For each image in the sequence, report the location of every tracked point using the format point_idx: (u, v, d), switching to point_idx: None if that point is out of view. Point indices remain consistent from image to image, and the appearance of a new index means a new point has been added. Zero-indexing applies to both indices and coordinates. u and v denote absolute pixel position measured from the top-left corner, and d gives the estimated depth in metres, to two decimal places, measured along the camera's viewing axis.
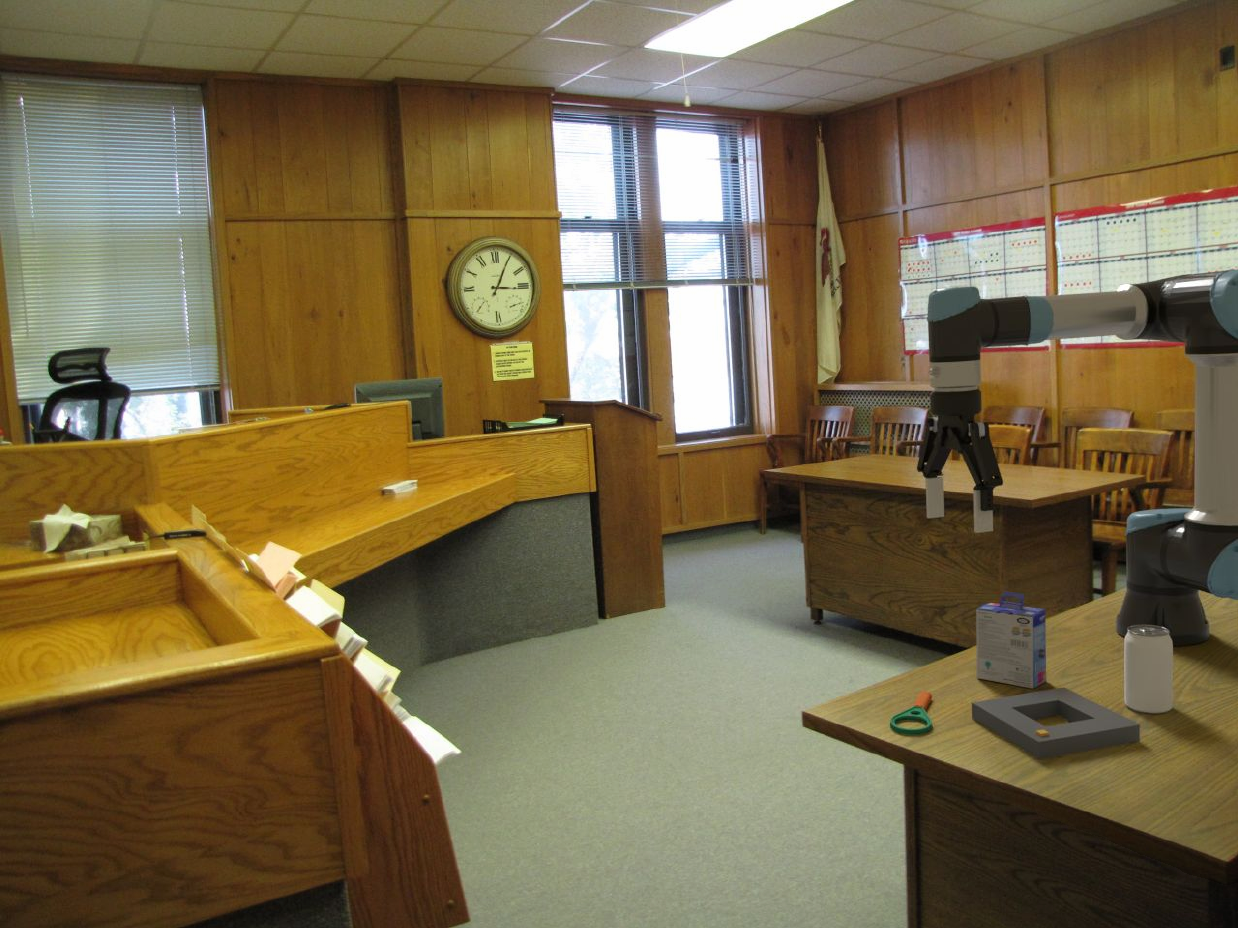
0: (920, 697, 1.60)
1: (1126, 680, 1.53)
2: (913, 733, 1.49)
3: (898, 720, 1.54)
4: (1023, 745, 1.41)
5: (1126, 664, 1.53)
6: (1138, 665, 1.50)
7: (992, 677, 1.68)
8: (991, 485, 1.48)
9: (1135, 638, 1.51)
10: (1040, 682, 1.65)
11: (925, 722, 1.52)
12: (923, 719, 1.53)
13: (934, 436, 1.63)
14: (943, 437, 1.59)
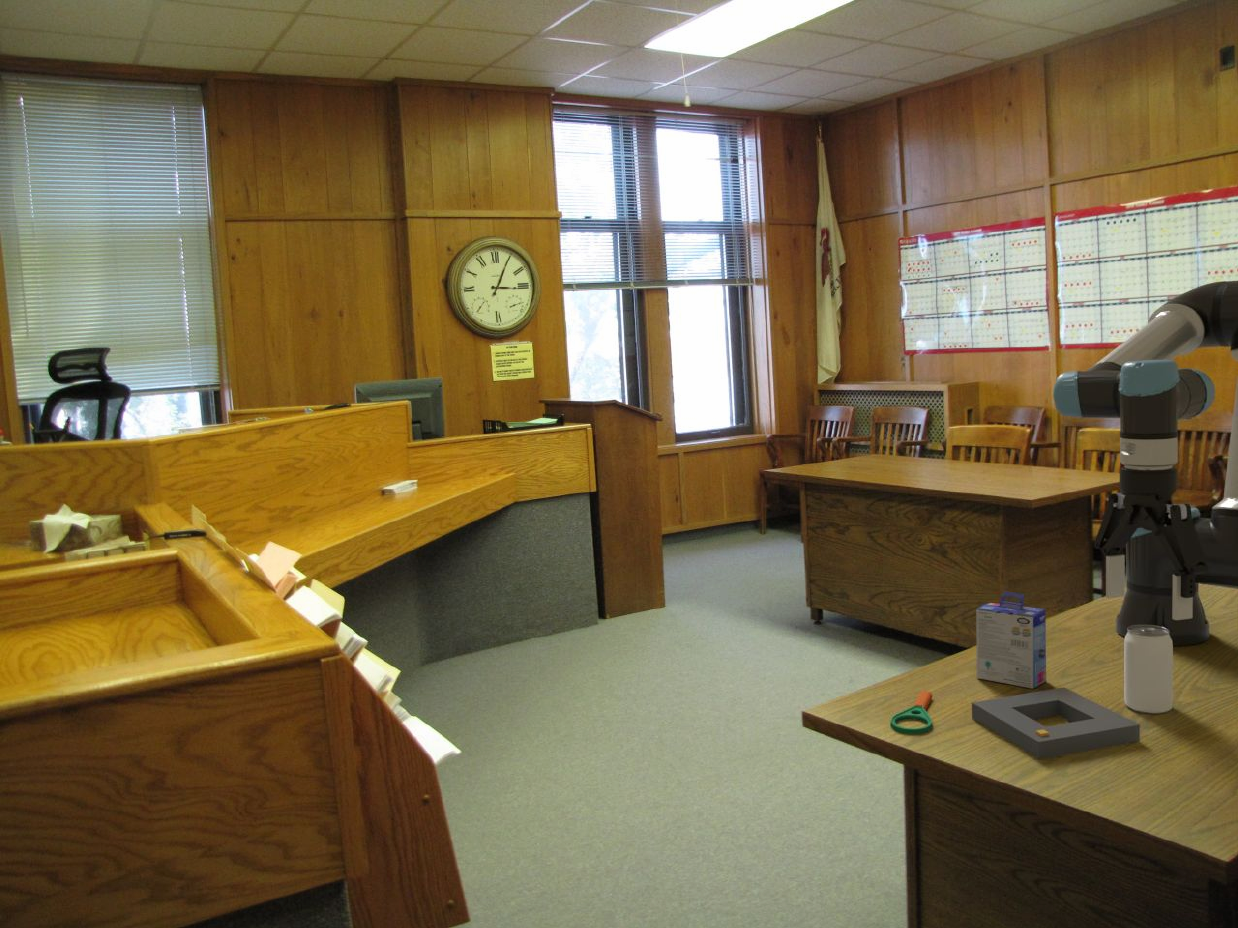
0: (921, 697, 1.60)
1: (1126, 680, 1.53)
2: (913, 732, 1.49)
3: (898, 720, 1.54)
4: (1023, 745, 1.41)
5: (1126, 664, 1.53)
6: (1138, 665, 1.50)
7: (992, 677, 1.68)
8: (1197, 571, 1.41)
9: (1135, 638, 1.51)
10: (1040, 682, 1.65)
11: (925, 721, 1.53)
12: (923, 718, 1.53)
13: (1117, 512, 1.56)
14: (1132, 516, 1.51)
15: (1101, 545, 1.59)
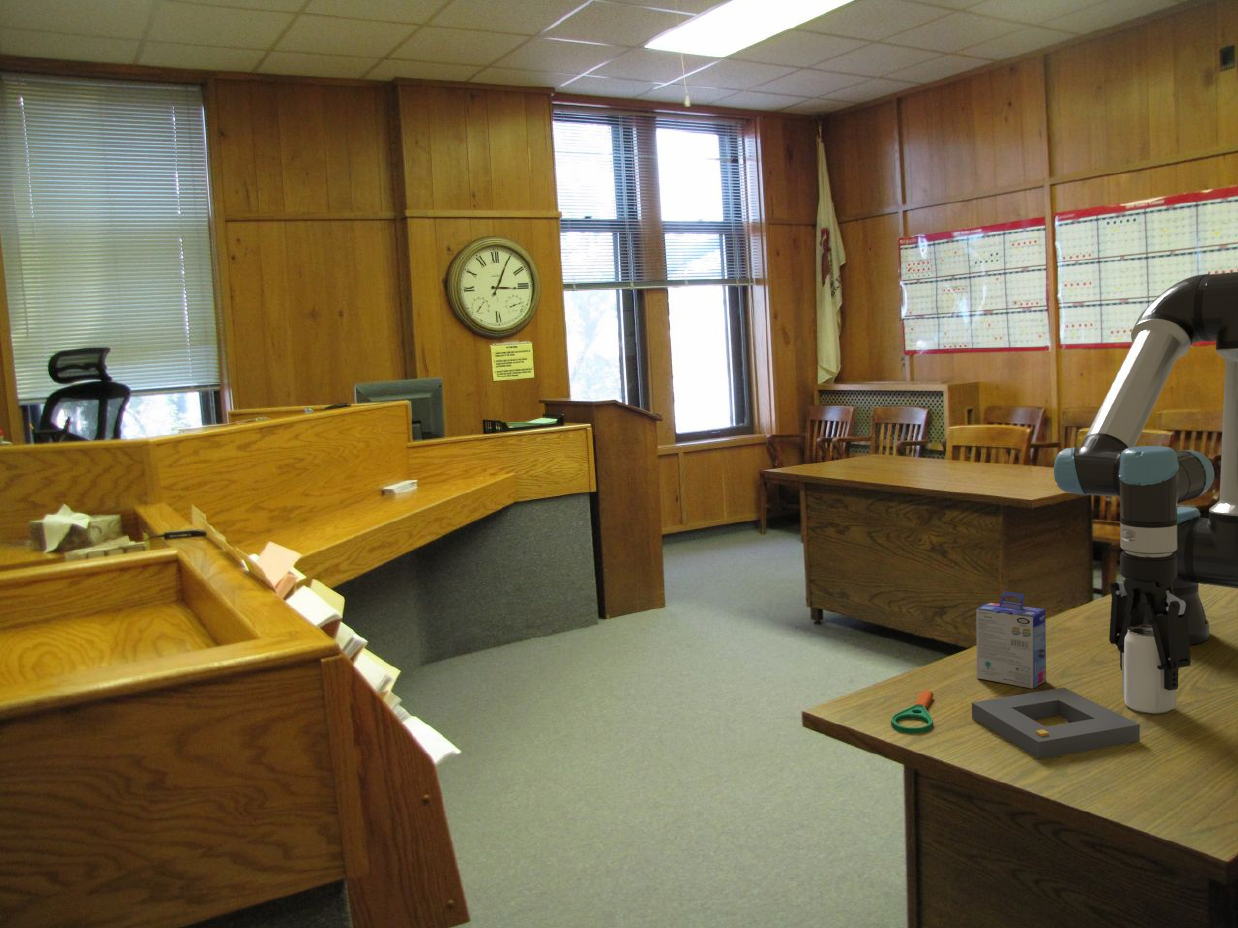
0: (922, 696, 1.61)
1: (1126, 680, 1.53)
2: (914, 731, 1.49)
3: (899, 719, 1.55)
4: (1023, 745, 1.41)
5: (1126, 664, 1.53)
6: (1138, 665, 1.50)
7: (992, 677, 1.68)
8: (1179, 666, 1.46)
9: (1135, 638, 1.51)
10: (1040, 682, 1.65)
11: (926, 721, 1.53)
12: (924, 718, 1.53)
13: (1122, 601, 1.56)
14: (1135, 600, 1.52)
15: (1117, 641, 1.58)
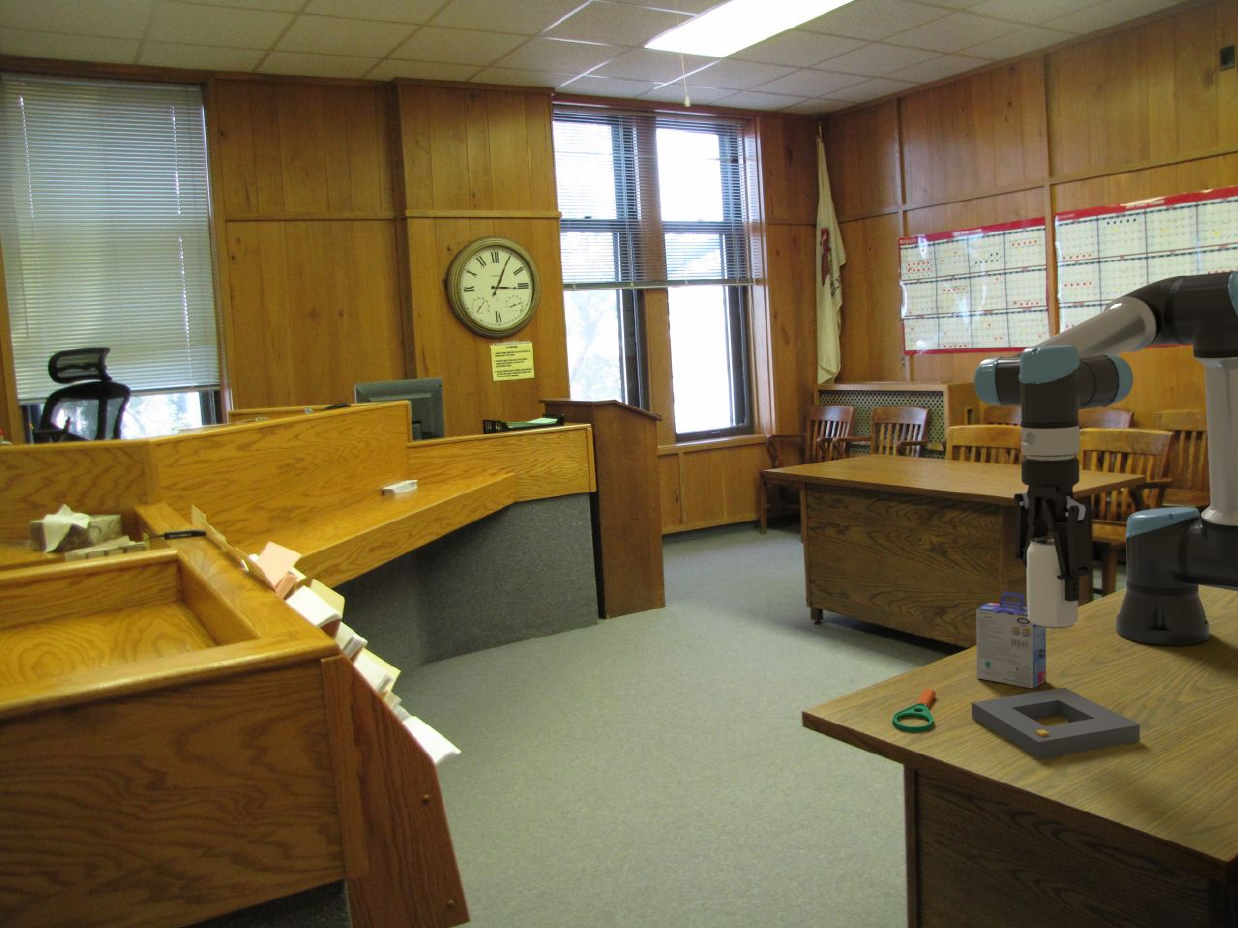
0: (924, 694, 1.61)
1: (1029, 594, 1.45)
2: (915, 730, 1.50)
3: (900, 717, 1.55)
4: (1023, 745, 1.41)
5: (1028, 577, 1.45)
6: (1040, 577, 1.42)
7: (992, 677, 1.68)
8: (1079, 575, 1.38)
9: (1037, 548, 1.43)
10: (1040, 682, 1.65)
11: (927, 719, 1.53)
12: (925, 716, 1.54)
13: (1027, 513, 1.48)
14: (1037, 509, 1.44)
15: (1022, 555, 1.50)
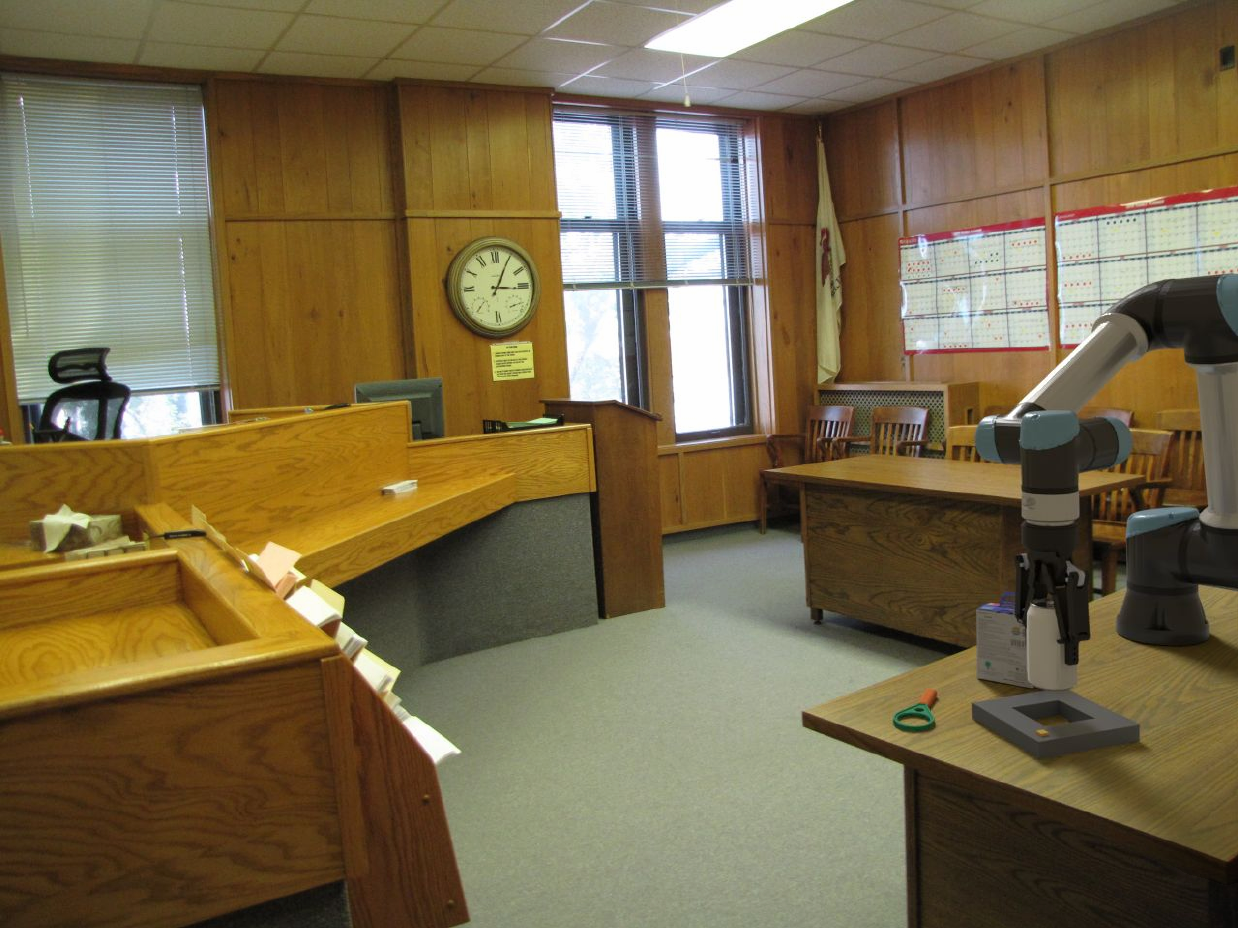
0: (925, 694, 1.61)
1: (1028, 656, 1.46)
2: (915, 730, 1.50)
3: (901, 717, 1.55)
4: (1023, 745, 1.41)
5: (1028, 639, 1.46)
6: (1040, 640, 1.43)
7: (992, 677, 1.68)
8: (1078, 640, 1.39)
9: (1037, 612, 1.44)
10: None
11: (928, 719, 1.54)
12: (926, 716, 1.54)
13: (1027, 574, 1.50)
14: (1037, 572, 1.45)
15: (1022, 616, 1.51)
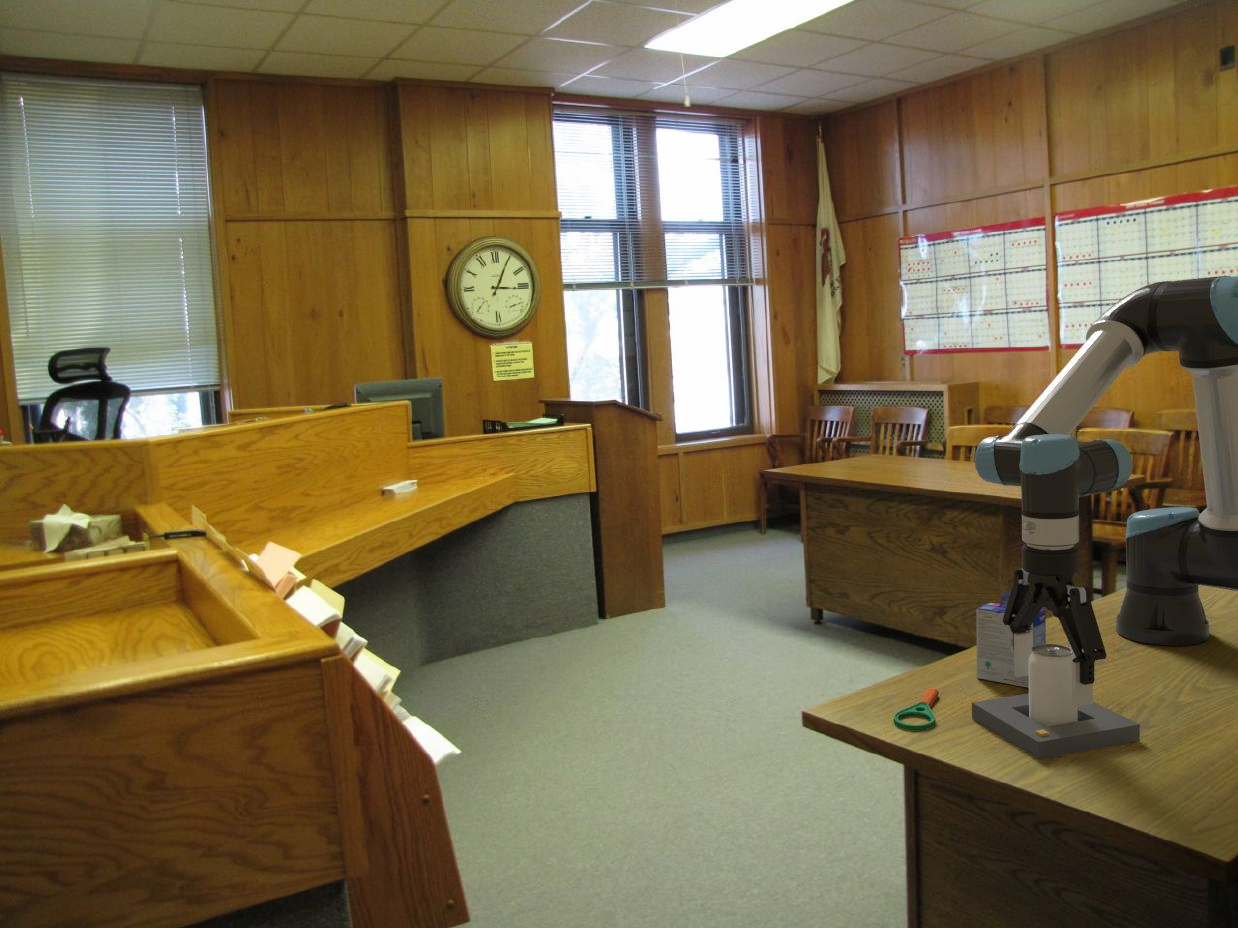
0: (926, 694, 1.61)
1: (1030, 702, 1.47)
2: (916, 729, 1.50)
3: (902, 716, 1.56)
4: (1023, 745, 1.41)
5: (1030, 685, 1.47)
6: (1042, 687, 1.44)
7: (992, 677, 1.68)
8: (1094, 659, 1.36)
9: (1039, 659, 1.45)
10: None
11: (929, 718, 1.54)
12: (927, 715, 1.54)
13: (1023, 589, 1.51)
14: (1036, 594, 1.46)
15: (1009, 622, 1.54)
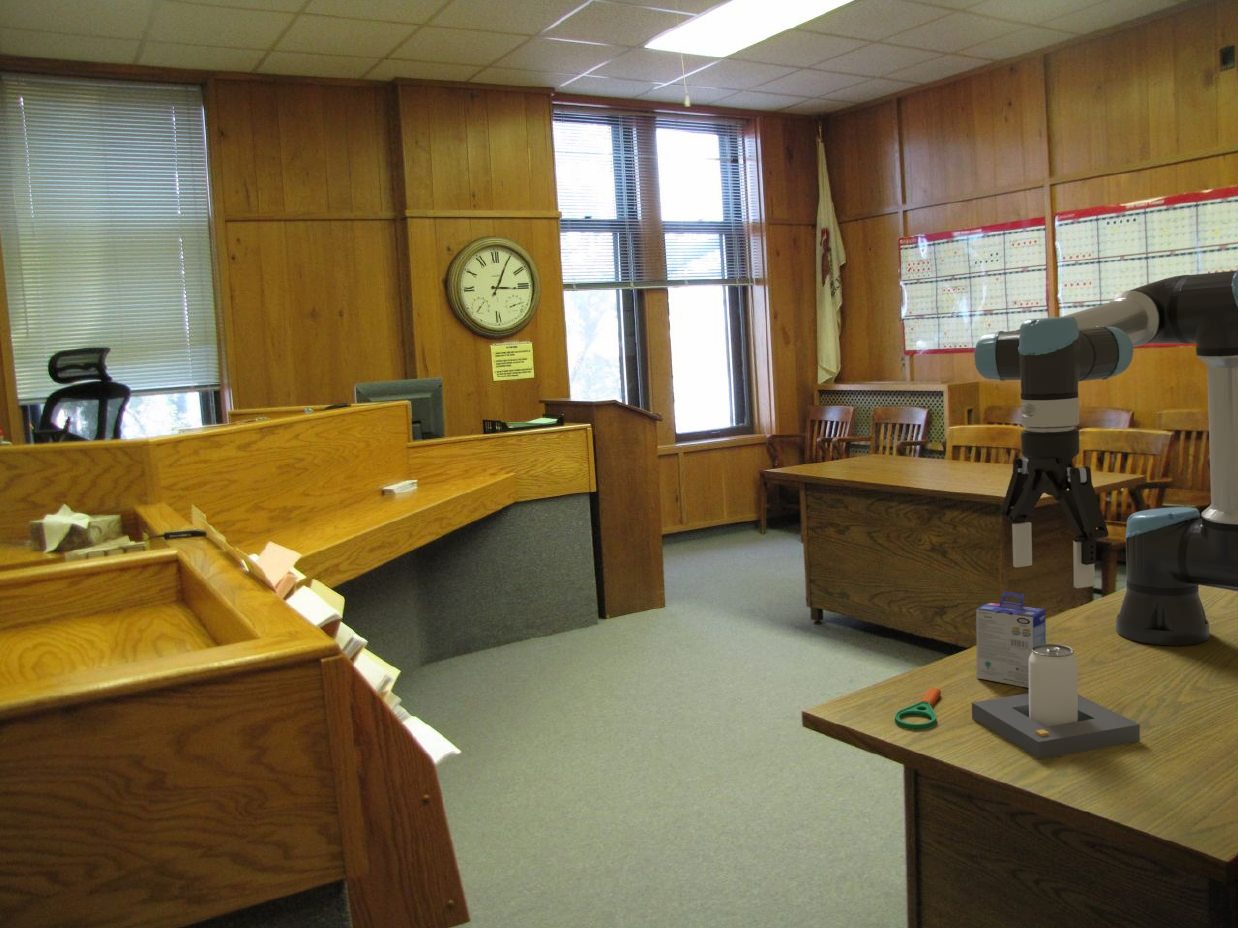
0: (928, 693, 1.62)
1: (1030, 702, 1.47)
2: (916, 728, 1.51)
3: (903, 715, 1.56)
4: (1023, 745, 1.41)
5: (1030, 685, 1.47)
6: (1042, 687, 1.44)
7: (992, 677, 1.68)
8: (1096, 537, 1.34)
9: (1039, 659, 1.45)
10: None
11: (930, 717, 1.54)
12: (928, 714, 1.55)
13: (1022, 478, 1.49)
14: (1035, 481, 1.45)
15: (1008, 512, 1.53)
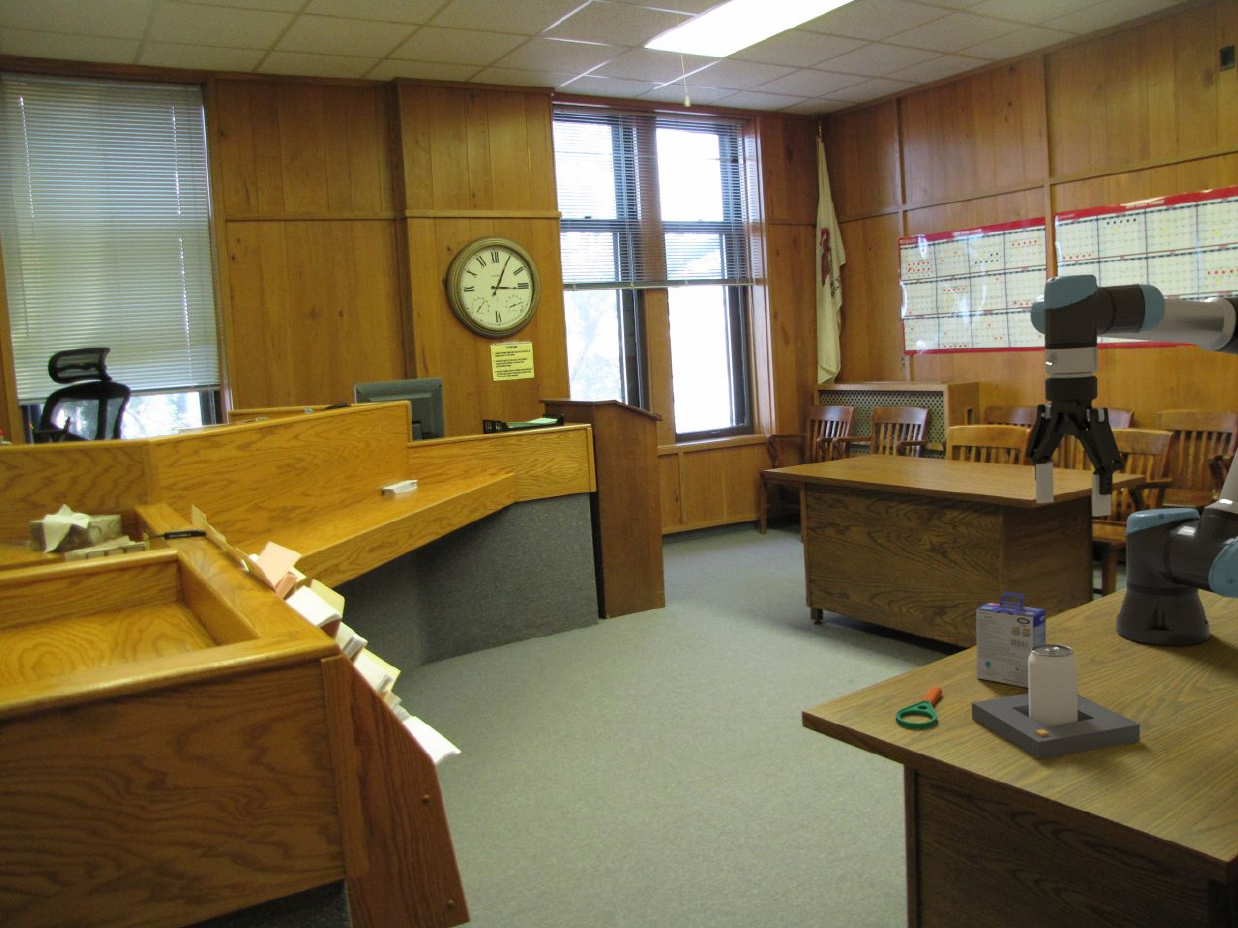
0: (929, 692, 1.62)
1: (1030, 702, 1.47)
2: (917, 727, 1.51)
3: (904, 714, 1.56)
4: (1023, 745, 1.41)
5: (1030, 685, 1.47)
6: (1041, 687, 1.44)
7: (992, 677, 1.68)
8: (1113, 469, 1.51)
9: (1038, 659, 1.45)
10: None
11: (931, 717, 1.54)
12: (929, 714, 1.55)
13: (1045, 422, 1.66)
14: (1057, 423, 1.61)
15: (1032, 454, 1.69)
